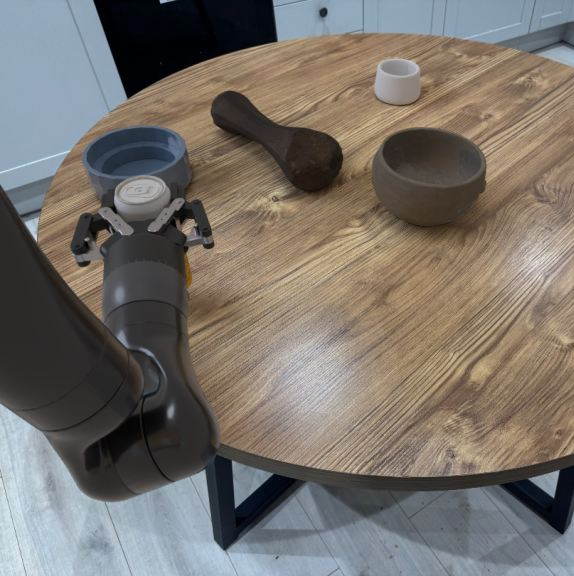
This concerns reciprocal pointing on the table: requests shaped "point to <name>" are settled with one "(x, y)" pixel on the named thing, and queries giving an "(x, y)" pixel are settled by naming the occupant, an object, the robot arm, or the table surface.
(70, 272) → the table surface
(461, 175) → the bowl
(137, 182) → the beer can
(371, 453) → the table surface
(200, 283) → the table surface
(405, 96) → the white tapered round piece
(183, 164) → the blue bowl
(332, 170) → the dark brown pestle
